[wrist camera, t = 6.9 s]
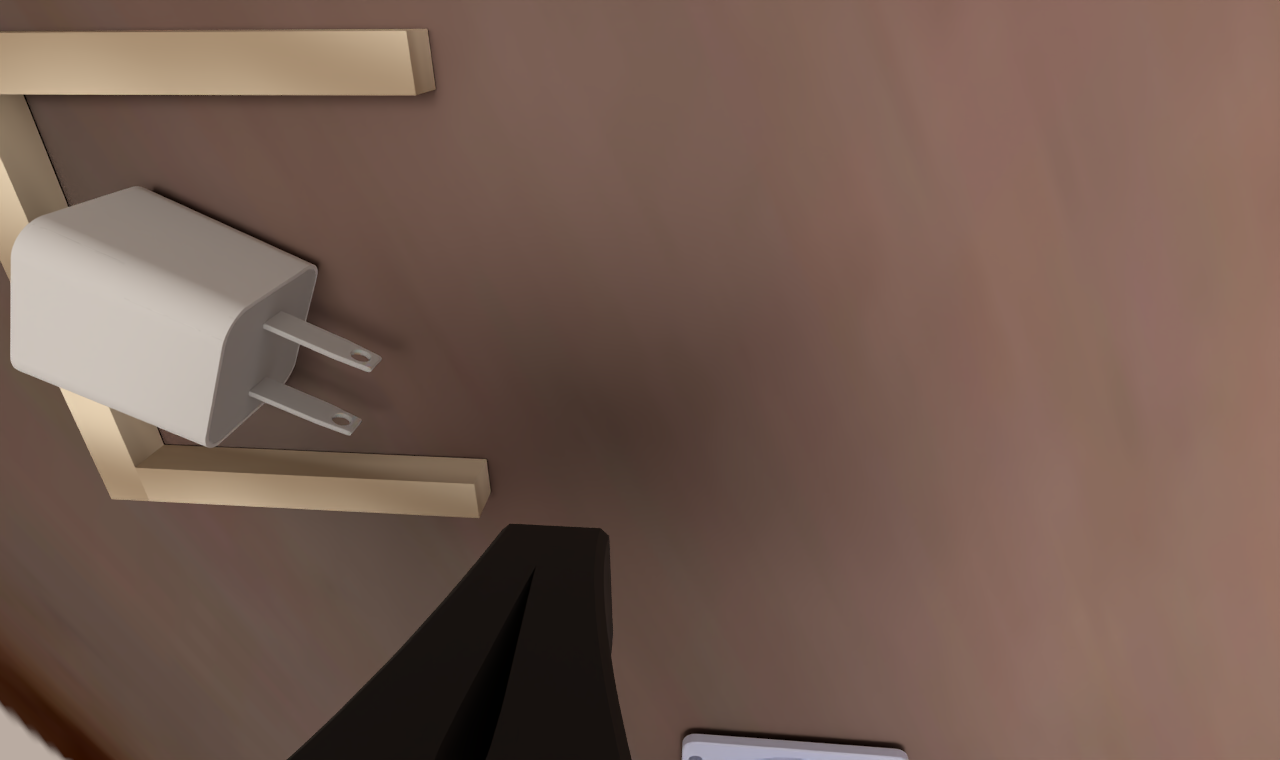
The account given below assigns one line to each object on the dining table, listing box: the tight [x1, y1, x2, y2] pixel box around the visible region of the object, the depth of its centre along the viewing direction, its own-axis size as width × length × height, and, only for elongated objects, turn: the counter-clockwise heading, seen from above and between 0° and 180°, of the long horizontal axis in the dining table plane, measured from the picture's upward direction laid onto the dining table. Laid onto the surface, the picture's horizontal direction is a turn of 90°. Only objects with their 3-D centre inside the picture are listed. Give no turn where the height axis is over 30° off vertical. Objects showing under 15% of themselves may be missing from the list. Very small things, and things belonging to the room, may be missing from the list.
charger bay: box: [0, 29, 491, 518], centre depth 18 cm, size 12×11×1 cm
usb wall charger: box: [10, 186, 382, 448], centre depth 17 cm, size 4×7×4 cm, turn 65°
